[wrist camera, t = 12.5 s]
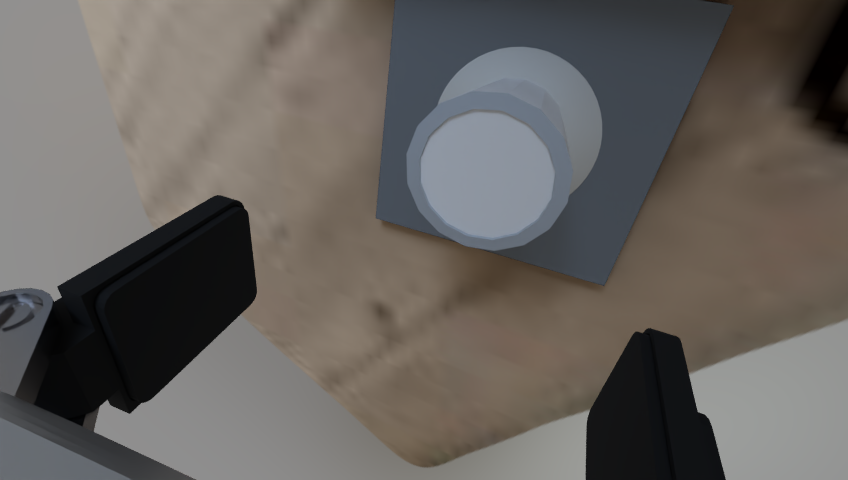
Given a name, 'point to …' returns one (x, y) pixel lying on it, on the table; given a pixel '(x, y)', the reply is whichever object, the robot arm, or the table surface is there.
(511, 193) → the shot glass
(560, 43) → the mat
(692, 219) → the table surface
